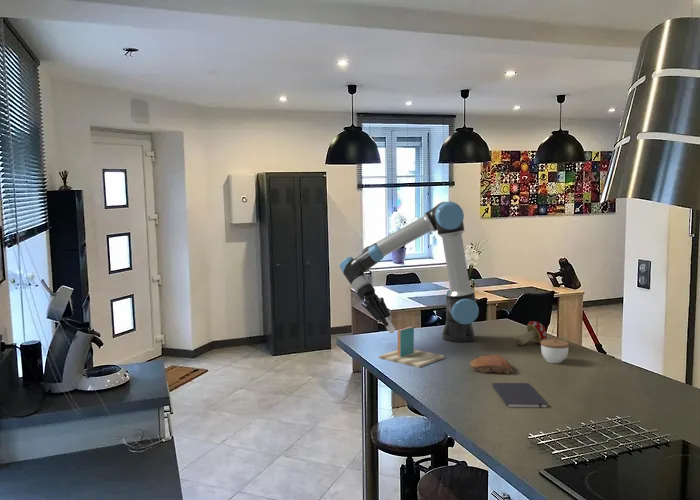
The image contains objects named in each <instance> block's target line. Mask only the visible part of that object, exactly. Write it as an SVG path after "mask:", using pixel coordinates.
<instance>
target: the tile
mask: <svg viewBox="0 0 700 500" xmlns="http://www.w3.org/2000/svg"><path fill="white" fill-rule="evenodd" d="M414 337H415V327H414V326H408V327H404V328H400V329H397V350H398V356H399V357H402V356H405V355H408V354H411V353H414V349H415V348H414V347H415V346H414V344H415V343H414V342H415V341H414V340H415V338H414Z"/></svg>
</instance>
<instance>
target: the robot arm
mask: <svg viewBox="0 0 700 500" xmlns="http://www.w3.org/2000/svg"><path fill="white" fill-rule="evenodd" d="M464 215H465V213H464V210H463V208H462V207H461V206H460V205H459V204H458V203H457V202H454V201H442V202H441V201H440V203H438V204H437V205H435V206H434V207H432V208H431V209H429V210H428V211H426V212H425V213H423V216H422V217H420V218H418V219H417V220H414V221H413V222H410V223H409V224H407V225H406V226H404V227H402V228H400V229H398V230H397V231H395V232H392V233H390V234H389V235H387V236H386V237H384V238H381V239H379V240H378V241H376V242H375V243H372V244H370V245H368V246H366V247H364V248H363V250H362V252H361V253H360V254H359V255H358V256H356V257H355V258H353V257H352V256H348V257H347V258H345V259H343V260H342V261H341V262H340V263H339V269H340V270H341V272H342V274H343V276H344V277H345V278H346V280H347V281H348V282H349V284H350V285H351V287H352V288H353V290H354V291H355V293H356V294H357V296H358V297H359V299H360V300H361V301H363V302H362V303H361V306H362V308H364V309H366V311H367V312H368V313H369V314H370V315H371V316H372V317H373V319H375V320H376V321H378V323H382V325H383V326H384V327H385V328H386V330H387V331H388V332H389V334H393V333H394V332H395V331H396V329H397V328H396V327H395V326H394V324H393V323H392V321H391V319H390V318H389V317H390V315H391V313H390V311H389V309H388V307H387V305H386V303H385V298H384V297H379V296H378V295H377V294H376V289H375V288H374V286H373V285H372V283H371V282H370V280H369V279H368V277H367V276H366V275H365V273H367V271H369V269H371V268H372V267H374V266H375V265H376V264H378V263H380V262H381V261H382V260H383V259H384V258H385V257H386V256H387V255H389V254H391V253H393V252H394V251H397V250H399V249H400V248H402V247H404V246H406V245H408V244H410V243H411V242H413V241H415V240H417V239H419V238H421V237H423V236H424V235H426V234H428V233H430V232H437V236H439V237H441V240H442V245H443V251H444V256H445V263H446V270H447V275H448V276H447V277H448V282H449V289H448V290H447V291H446V295H445V297H446V302H445V303H446V304H445V305H446V306H445V308H446V311H445V312H446V313H445V317H446V318H445V324H444V328H443V330H442V333H441V335H442V337H441V338H442V340H445V341H448V342H455V343H467V342H468V343H469V342H473V341H475V339H476V334H475V330H474V327H473V324H472V323H473V322H475V321H476V320H477V318H478V316H479V313H480V308H479V306H478V304H477V301H476V300H477V299H476V294H475V289H472V288H471V285H470V279H469V273H468V267H467V260H466V253H465V249H464V248H465V247H464V242H463V235H462V234H463V233H464V232H465V225H464V218H465V216H464Z"/></svg>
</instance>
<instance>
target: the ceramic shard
mask: <svg viewBox="0 0 700 500" xmlns="http://www.w3.org/2000/svg"><path fill="white" fill-rule="evenodd" d="M469 364H470V368H471V369H472V370H473V371H475V372H478V373H481V374H489V373H497V374H507V375H512V374H513V368H512V366H511V363H510V362H509V361H508V359H506V358H504V357H502V356H499V355H495V354H493V355H482V356H479V357H477V358H474V359H473V360H470V363H469Z"/></svg>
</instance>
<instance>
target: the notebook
mask: <svg viewBox="0 0 700 500" xmlns="http://www.w3.org/2000/svg"><path fill="white" fill-rule="evenodd" d="M492 388H493V389H494V390H495V392H496V393H497V394H498V396H499V398H500V399H501V400H502V401H503V403H504V404H505V406H506V407H507V408H547V406H548V403H547V401H546V400H545V399H544V398H543V397H542V396H541V395H540V394H539V393H538V392H537V391H536V389H535V388H533V386H532V385H531V384H530V383H528V382H492Z"/></svg>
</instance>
